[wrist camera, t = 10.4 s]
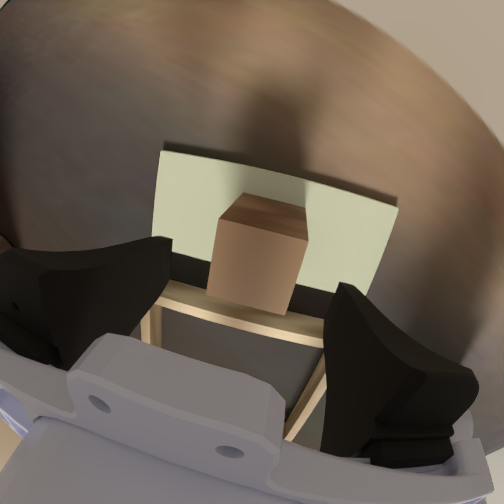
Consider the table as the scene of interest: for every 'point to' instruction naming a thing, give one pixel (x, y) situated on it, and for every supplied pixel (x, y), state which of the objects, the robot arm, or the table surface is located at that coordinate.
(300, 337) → the box
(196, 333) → the table surface
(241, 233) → the walnut block
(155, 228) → the place mat
